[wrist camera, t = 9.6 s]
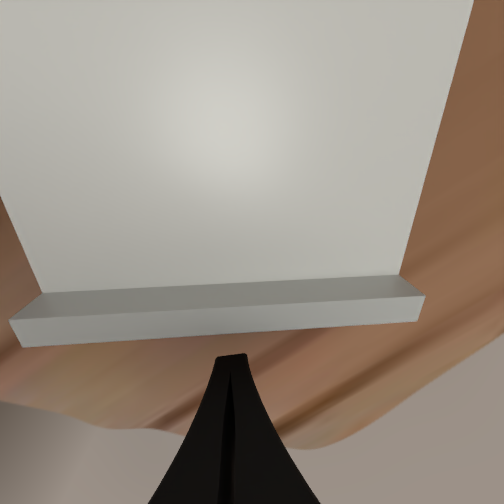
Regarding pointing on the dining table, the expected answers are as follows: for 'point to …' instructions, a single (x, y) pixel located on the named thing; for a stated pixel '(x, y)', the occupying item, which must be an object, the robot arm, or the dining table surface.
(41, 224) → the lid
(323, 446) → the dining table surface
